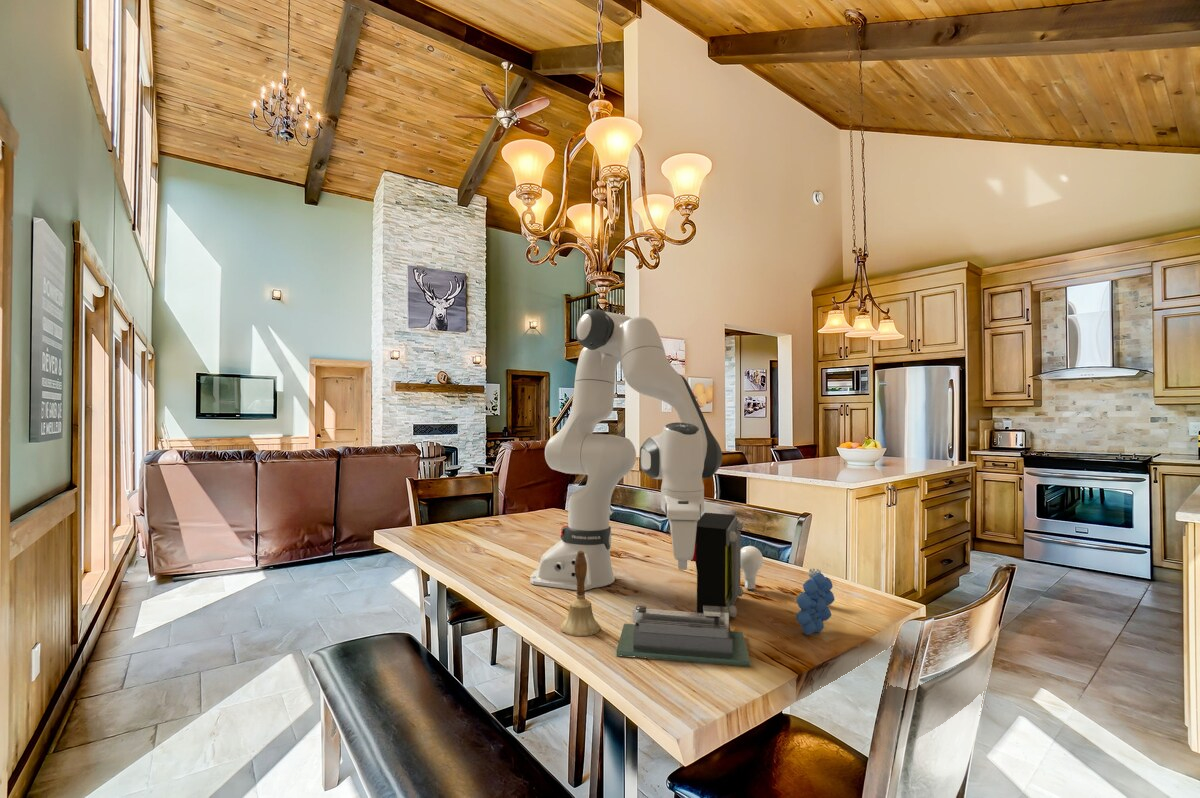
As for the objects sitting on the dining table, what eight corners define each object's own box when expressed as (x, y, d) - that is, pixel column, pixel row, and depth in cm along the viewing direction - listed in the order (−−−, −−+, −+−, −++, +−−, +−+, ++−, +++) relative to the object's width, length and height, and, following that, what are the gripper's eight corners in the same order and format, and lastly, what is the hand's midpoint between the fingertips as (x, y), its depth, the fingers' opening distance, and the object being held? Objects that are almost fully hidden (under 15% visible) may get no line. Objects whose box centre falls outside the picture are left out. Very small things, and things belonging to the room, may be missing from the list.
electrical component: (735, 623, 116) (735, 530, 117) (688, 617, 120) (688, 526, 120) (743, 597, 133) (743, 515, 133) (701, 592, 136) (702, 512, 137)
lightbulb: (760, 586, 142) (760, 543, 142) (765, 594, 135) (765, 549, 136) (735, 585, 142) (735, 542, 142) (739, 593, 136) (739, 548, 136)
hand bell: (603, 635, 110) (604, 555, 110) (563, 638, 108) (564, 557, 108) (595, 619, 118) (596, 545, 118) (557, 622, 116) (558, 547, 117)
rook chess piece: (804, 605, 127) (804, 571, 128) (804, 599, 132) (804, 566, 132) (825, 608, 126) (825, 573, 126) (824, 602, 130) (824, 568, 130)
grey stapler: (616, 656, 100) (616, 615, 100) (624, 628, 113) (624, 592, 113) (750, 666, 97) (750, 624, 97) (742, 636, 109) (742, 599, 110)
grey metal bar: (632, 622, 105) (632, 609, 105) (634, 617, 108) (634, 604, 108) (714, 629, 102) (714, 615, 102) (714, 624, 105) (714, 610, 105)
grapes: (812, 619, 119) (812, 564, 119) (841, 629, 114) (842, 572, 114) (780, 632, 112) (780, 573, 112) (810, 643, 107) (810, 582, 107)
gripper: (667, 491, 123) (667, 551, 124) (666, 513, 103) (667, 585, 104) (695, 491, 123) (695, 552, 123) (700, 513, 102) (700, 586, 103)
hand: (682, 567), depth 113 cm, fingers closed
